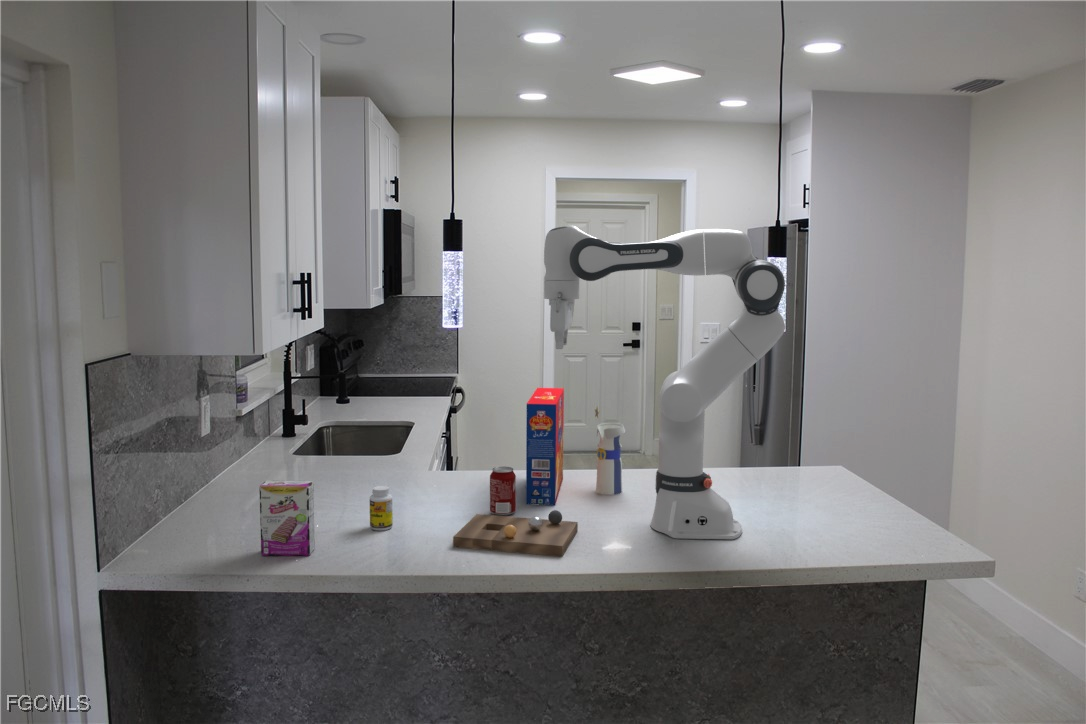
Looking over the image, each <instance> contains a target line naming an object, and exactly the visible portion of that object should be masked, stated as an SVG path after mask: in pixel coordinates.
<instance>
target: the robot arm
mask: <svg viewBox="0 0 1086 724" xmlns="http://www.w3.org/2000/svg"><path fill="white" fill-rule="evenodd" d="M543 248H544V250H543V264H544V268H545V269H544V270H545V272H544V273H545V274H544V276H543V299H545V300H548V306H550V314H549V316H550V318H549V319H550V320H549V321H550V322H549V328H550V329H549V330H550V332H552V333H554V340H555V349H556V350H563V349H564V346H566V345H568V332H569V328H570V327H571V326H572V324H573V317H574V312H575V300H578V299H580V279H581V280H584V281H587V282H594V281H597V280H600V279H603V278H606V277H607V276H609V275H610V274H612V273H617V272H626V271H637V270H638V271H642V270H655V271H656V270H658V271H665V272H667V273H672V274H677V275H684V276H693V277H695V276H714V275H722V276H727V277H730V278H731V280H732V283H733V286H734V289H735V291H736V294H737V296H738V298H739V299H740V300H741V301H742V302H743V305H744V306H743V309H742V311H741V313H740V314H739V315H738V316H737V317H736V318H735V320H733V321H732V322H731V323H730V324H729V325H727V326H726V327H724V329H723V330H722V331H721V332H719V333H718V334H717V335H716V336H715V337H713V339H712V340H710V341H709V342H708V343H707V344H705V345H704V346H703V347H702V348H701V349H700V350H699V351H698V352H697V353H696V354H695V355H694V356H693V357H692V358H691V359H690V360H689V361H688V362H686V363H685V365H684V366H683V367H682V368H680V369H679V370H676V371H673V372H671V373H670V374H668V375H667V376H666V378H664V381H663V382H662V384H661V385H662V386H661V388H660V391H659V394H658V404H659V408H660V415H659V417H660V418H659V435H658V453H657V454H658V458H657V459H658V462H657V464H658V465H657V470H656V473H655V484H654V485H655V487H654V488H655V489H654V490H655V493H656V495H655V504H654V505H655V506H654V509H653V513H652V518H651V520H650V523H649V524H650V525H649V526H650V527H651V528H652V529H653V530H654V531H657V532H659V533H663V534H665V535H667V536H669V538H671V539H688V540H689V539H691V540H692V539H693V540H695V539H696V540H735V539H738V538H739V537H740V536H741V535H742V531H743V529H742V524H741V523H740V522H739V521H738V520H736V519H734V513H733V510H732V507H731V505H730V503H729V502H728V501H727V500H726V499H725V498H724V497H722V496H721V495H719V494H718V492H716V491H715V490H714V489H713V488H711V487H712V486H713V480H712V477H711V475H710V474H709V473H706V472H704V445H705V444H704V443H705V442H704V441H705V439H704V438H705V415H706V414H705V412H706V409H707V408H708V407H710V405H712V403H713V402H715V401H716V400H717V399H718V398H719V397H720V396H721V395H722V394H723V393H724V392H725V391H726V390H728V388H729V387H730V386H731V384H733V383H734V382H735V381H736V380H737V379H738V378H740V377H741V376H742V375H743V374H744V373H746V372H747V371H748V370H749V369H750V368H751V367H752V366H754V365H755V364H756V363H757V362H758V361H760V360H761V359H762V358H763V357H764V356H765V355H766V354H767V353H769V351H771V349H773V347H774V346H775V345H776V343H778V341H779V340H780V338H782V336H783V335H784V333H785V331H786V324H785V319H784V317H783V316H782V314H781V313H780V312H779V310H778V308H779V305H780V303H781V300H782V298H783V296H784V295H783V294H784V292H785V285H786V281H785V277H784V273H783V272H782V270H781V269H780V268H779V267H778V266H777V265H775V264H774V263H773V262H770V261H769V260H764V259H760V258H758V257H756V256H755V255H754V254H753V246H752V242H751V239H750V236H748V235H747V234H746V233H745V232H744V231H742V230H738V229H737V230H736V229H730V228H729V229H728V228H727V229H726V228H704V229H701V228H700V229H693V230H692V229H691V230H687V231H682V232H679V233H675V234H672V235H669V236H667V237H664V238H661V239H657V240H654V241H653V240H652V241H648V242H635V243H631V242H630V243H610V242H608V241H606V240H603V239H601V238H598V237H594V236H592V235H591V234H587V233H586V232H584V231H582V230H581V229H579V228H578V227H577V226H576V225H563V226H559V227H554V228H552V229H550V230H549V231H548V232H547V233H546V234H545V239H544V247H543Z"/></svg>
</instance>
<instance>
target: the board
mask: <svg viewBox="0 0 1086 724" xmlns="http://www.w3.org/2000/svg"><path fill="white" fill-rule="evenodd" d="M531 518H532V517H521V516H520V517H519V516H517V517H516V516H497V515H494V514H491V515H490V514H482V513H481V514H479V513H476V514H475V515H474V516H473V517H471V519H470V520H469V521H467V522H466V524H465V525H464V526H462V528H460V530H459V531H458V532H457V533H455V534H454V535H453V537H452V542H453V543H452V547H453V548H459V549H460V548H462V549H471V550H473V549H474V550H484V551H494V552H495V551H496V552H507V553H515V552H519V553H518V554H527V553H528V555H529V554H530V555H539V556H550V557H551V556H552V557H553V556H554V557H563V556H564V554H565V553H566V551H567V550H568V548H569V546H570V545H571V543H572V541H573V540H574V538H575V537H576V535H577V533H578V530H579V528H578V525H579V524H578V521H569V520H561V522H560V523H559V524H552V523H550V521H549V519H545V518H544V519H542V518H540V519H541V520H542V523H543V525H542V528H541V529H540V530H538V531H533V530H531V529H530V528H529V525H528V522H529V520H530V519H531ZM507 525H513V526H515V528H516V530H517V532H516V535H515V536H514V537H512V538H508V537H506V536H505V534H504V528H505V527H506V526H507Z"/></svg>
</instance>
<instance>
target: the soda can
mask: <svg viewBox="0 0 1086 724" xmlns="http://www.w3.org/2000/svg"><path fill="white" fill-rule="evenodd" d="M516 477H517V476H516V473H515V472H514V468H513V467H512V466H506V465H505V466H496V467H495V466H494V467H492V472H491V473H490V475H489V512H490V513H492V515H495V516H508V517H510V516H511V515H513V514H515V512H516V507H517V506H516V504H517V502H516V497H517V495H516V493H517V490H516V488H517V485H516V484H517V478H516Z"/></svg>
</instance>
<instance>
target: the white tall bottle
mask: <svg viewBox="0 0 1086 724" xmlns="http://www.w3.org/2000/svg"><path fill="white" fill-rule="evenodd" d="M594 412H595V414H594V418H597V419H599V414H600V411H599V406H596V408H595V409H594ZM624 426H625V425H624V424H621V423H612V422H606V423H599V424H598V425H597V426H596V436H598V434H599V443H598V444H597V447H598V449H597V450H596V456H597V464H596V484H595V485H596V486H595V492H596V493H598V494H601V495H608V496H614V495H620V494H622V493H623V461H622V458H621V457H622V456H621V454H622V453H621V451H622V450H621V449H622V448H623V445H622V444H621V436H622V435H624V434H626V428H625V427H624Z"/></svg>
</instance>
